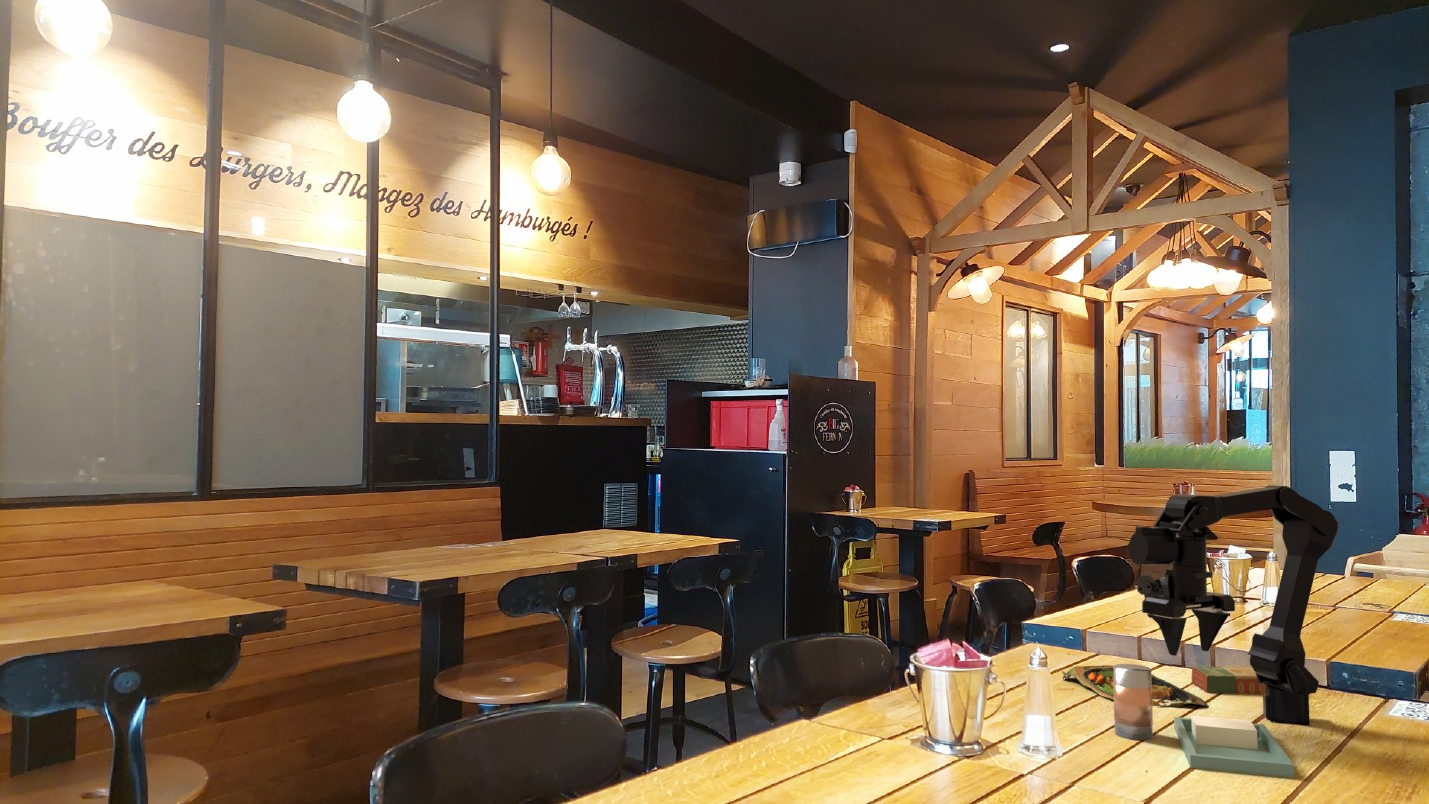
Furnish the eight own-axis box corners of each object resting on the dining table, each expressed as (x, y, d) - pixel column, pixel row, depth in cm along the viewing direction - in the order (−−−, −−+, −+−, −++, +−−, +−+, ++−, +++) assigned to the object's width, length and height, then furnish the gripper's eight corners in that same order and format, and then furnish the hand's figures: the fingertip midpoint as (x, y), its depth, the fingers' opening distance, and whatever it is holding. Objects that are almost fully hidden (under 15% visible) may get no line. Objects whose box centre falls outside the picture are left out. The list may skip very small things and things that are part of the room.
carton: (1290, 697, 192) (1290, 675, 192) (1206, 695, 194) (1206, 674, 194) (1271, 686, 200) (1271, 666, 201) (1191, 685, 202) (1190, 664, 202)
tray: (1264, 739, 164) (1264, 724, 164) (1294, 782, 143) (1293, 765, 143) (1174, 731, 168) (1174, 717, 168) (1190, 771, 148) (1190, 755, 148)
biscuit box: (1250, 738, 162) (1250, 720, 162) (1257, 749, 156) (1257, 730, 157) (1191, 733, 165) (1191, 715, 165) (1196, 743, 159) (1196, 725, 160)
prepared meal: (1218, 690, 184) (1134, 693, 181) (1219, 709, 184) (1134, 712, 181) (1130, 663, 211) (1055, 665, 208) (1130, 679, 211) (1056, 682, 208)
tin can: (1151, 735, 166) (1149, 665, 167) (1154, 745, 161) (1153, 673, 161) (1113, 731, 168) (1112, 662, 169) (1115, 741, 163) (1114, 670, 163)
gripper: (1179, 558, 183) (1180, 640, 182) (1115, 561, 173) (1115, 648, 173) (1236, 564, 173) (1237, 651, 172) (1171, 569, 164) (1172, 661, 163)
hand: (1189, 653), depth 170 cm, fingers open, 9 cm apart
